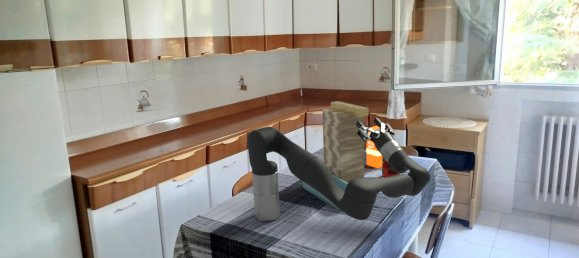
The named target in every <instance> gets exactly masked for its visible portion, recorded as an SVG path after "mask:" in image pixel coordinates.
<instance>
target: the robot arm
mask: <svg viewBox="0 0 579 258" xmlns="http://www.w3.org/2000/svg"><path fill="white" fill-rule="evenodd" d="M373 122H374V124H375V126H378V127H380V129H379V128H377V129H371V128H372V127H366V126H365V124H364V125H363V124H362V123H361V122H360V120H358V121H357V123H356V126H357V127H358V128H359V129H358V132H357V134H358V135H359V137H360V138H361V139H362V140H363V141H364V144H367V141H370V140H371V141H372V142H373V143H374V146H375V148H376V149H377V150H378V151H379V153H380V154H381V155H382V156H383V158H384V159H385V160H386V161H387V162H388V163H389V164H390V165H391V166H392V168H393V169H394V170H395V171H396V172H397V173H400V174H399V175H395V176H391V177H383V176H382V177H381V176H380V177H375V176H374V177H371V176H370V177H369V176H368V177H367V176H364V177H361V178H354V179H351V180H350V181H349V182H348V184H347V186H346V189H345V192H344V191H343V190H342V189H341V188H340V187H339V186H338V185H337V184H336V182H335V180H334V179H333V177H332V175H331V173H330V171H329V169H328V167H327V166H326V164H325V163H324V160H323V159H322V158H320V157H318V156H316V155H315V154H313V153H311V152H310V151H308V150H307V149H304V148H303V147H301V146H300V145H298V144H297V143H295V142H293V141H292V140H291V139H289V137H287V136H286V135H284V134H283V133H282V132H281V131H279V130H278V129H277V128H275V127H273V126H265V127H260V128H256V129H253V130H251V131H250V132H249V133H248V136H247V140H246V141H247V150H248V160H249V166H250V167H251V174H252V176H251V177H252V189H253V191H252V192H253V204H254V205H253V206H254V216H255V217H254V218H255V219H257V220H258V221H259V222H268V221H269V222H270V221H277V220H278V218H279V217H280V216H281V212H280V211H281V210H280V193H279V191H280V190H279V174H278V173H279V171H278V164H277V163H276V162H275V161H273V160H269V159H268V157H267V154H270V153H276V154H278V155H280V156H281V157H283V158H284V159H285V161H286V163H287V168H288V170H289V171H290V173H291V174H292V175H293V176H294V177H296V178H297V179H299V180H300V181H301V182H302V181H303V182H304V183H306V184H308V185H309V186H311V187H312V188H314V189H315V190H317V191H318V192H319V193H321V194H322V195H323V196H325V197H326V198H327V199H328V200H330V201H331V202H332V203H333V204H334V205H335V206H337V207H338V208H339V209H340V210H339V211H341V212H343V213H344V214H345V215H347V216H348V217H350V218H353V219H355V220H358V221H365V220H367V219H369V218H370V216H371V214H372V211H373V208H374V205H375V203H376V200H377V197H378V194H379V193H382V194H383V195H384V196H386V197H388V198H390V199H398V198H400V197H403V196H410V197H415V196H417V195H419V194H420V193H421V192H422V191H423V189H425V187H426V186H427V185H428V183H429V182H430V180H431V174H430V172H429V170H428V169H426V168H425V167H423V166H422V165H420V164H419V163H418V162H416V161H415V160H413V159H412V158H411V157H410V156H409V155H408V154H407V153H406V151H404V149H403V148H402V146H401V145H400V144H399V142H398V141H397V140H396V139H395V138H394V137H395V135H396V132H395V130H394V129H393V128H392V126H391V125H390V123H384V122H382V121H381V119H379V118H378V117H374V120H373ZM369 131H370V135H369V134H368V133H369ZM408 171H409V172H408ZM406 172H408V173H407V174H406ZM303 182H302V183H303Z"/></svg>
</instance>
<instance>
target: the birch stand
mask: <svg viewBox="0 0 579 258" xmlns="http://www.w3.org/2000/svg"><path fill="white" fill-rule="evenodd" d="M358 120H360V122H361V123H362V124H363V125H364V126H365V116H363V117H359V116H355V115H352V114H348V113H344V112H341V111H337V110H333V109H331V108H325V109H322V140H323V142H322V146H323V147H322V148H323V162H324V163H325V164H326V166H327V167H328V169H329V171H330V173H331V174H332V175H334V176H335V177H337V178H339V179H341V180H343V181H345V182H347V183H348V182H349V181H350V180H351V179H354V178H361V177H365V142H364V141H363V140H362V139H361V138H360V137H359V135H358V134H357V132H358V129H359V128H358V127H357V126H356V123H357V121H358Z"/></svg>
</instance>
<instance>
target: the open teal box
mask: <svg viewBox="0 0 579 258" xmlns="http://www.w3.org/2000/svg"><path fill="white" fill-rule="evenodd" d="M331 175H332V174H331ZM332 177H333V179H334V180H335V182H336V184H337V185H338V186H339V187H340V188H341V189H342V190H343V191H344V192H345V189H346V186H347V184H348V183H347V182H345V181H343V180H341V179H339V178H337V177H335V176H334V175H332ZM301 182H302V188H303V189H304V190H305V191H307V192H308V193H310V194H311V195H313V196H315V197H316V198H318V199H319V200H320V201H322V202H324V203H326V204H327V205H329V206H330V207H331V208H333V209H335V210H336V211H341V210H340V209H339V208H338V207H337V206H335V205H334V204H333V203H332V202H331V201H330V200H328V199H327V198H326V197H325V196H323V195H322V194H321V193H319V192H318V191H317V190H315V189H314V188H312V187H311V186H309V185H308V184H306V183H304V182H303V181H301Z"/></svg>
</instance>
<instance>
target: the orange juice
mask: <svg viewBox="0 0 579 258" xmlns="http://www.w3.org/2000/svg"><path fill="white" fill-rule="evenodd" d="M370 128H371V129H377V128H379V129H380V127H378V126H377V125H375V126H372V127H370ZM368 134H369V135H370V131H369V132H368ZM365 149H366V151H365V152H366V166H369V167H373V168H376V169H379V168H382V155H381V154H380V153H379V151H378V150H377V149H376V148H375V146H374V143H373V142H372V141H371V140H370V141H367V143H366V148H365Z"/></svg>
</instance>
